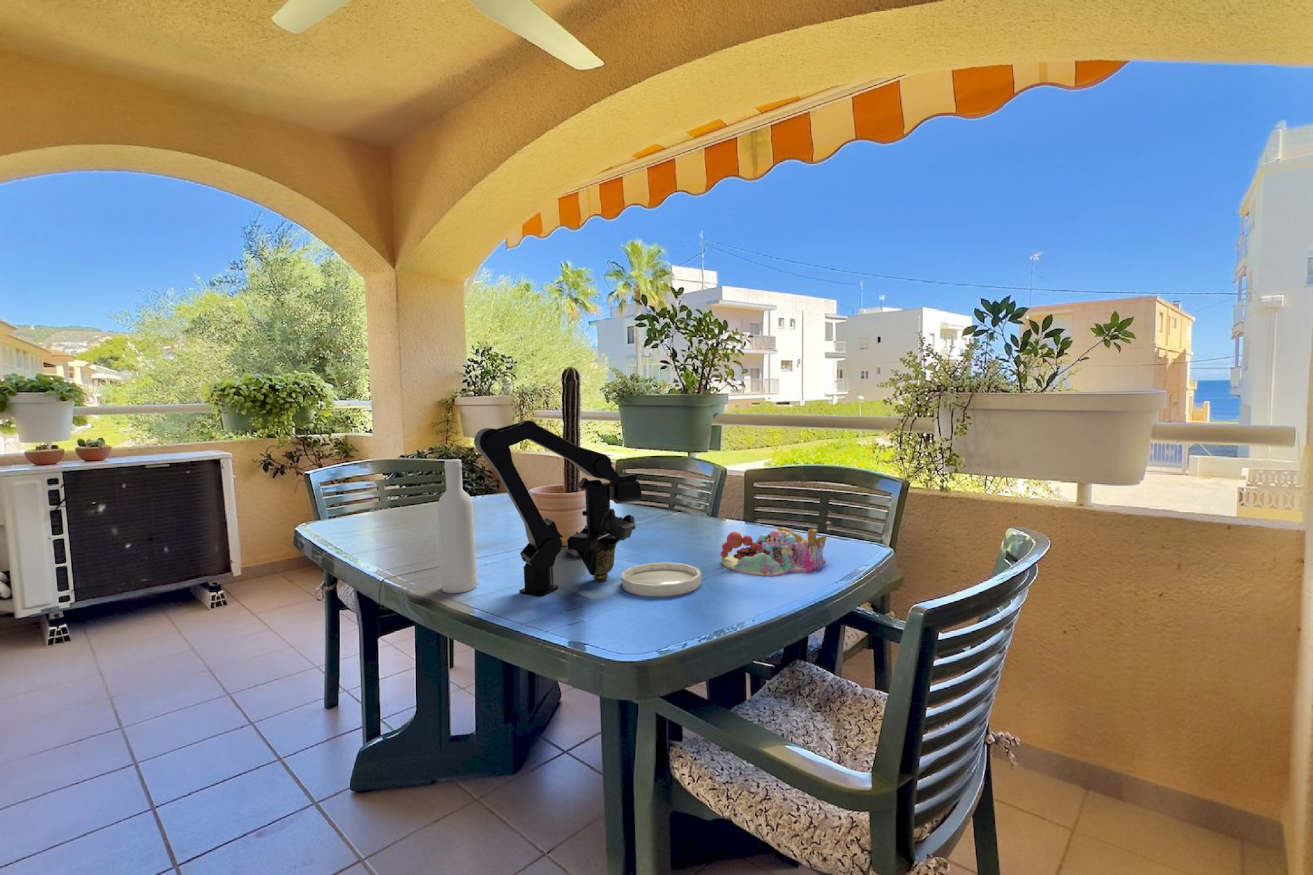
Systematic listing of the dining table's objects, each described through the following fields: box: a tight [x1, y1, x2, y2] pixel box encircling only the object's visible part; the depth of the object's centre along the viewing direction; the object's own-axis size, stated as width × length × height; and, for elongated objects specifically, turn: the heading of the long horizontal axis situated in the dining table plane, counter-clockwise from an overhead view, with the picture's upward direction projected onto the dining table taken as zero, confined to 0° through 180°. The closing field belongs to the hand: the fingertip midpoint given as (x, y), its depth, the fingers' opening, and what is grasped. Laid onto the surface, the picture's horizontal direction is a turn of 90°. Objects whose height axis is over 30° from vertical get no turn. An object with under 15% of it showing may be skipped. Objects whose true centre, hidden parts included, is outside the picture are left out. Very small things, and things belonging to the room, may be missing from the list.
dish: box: [621, 561, 703, 598], centre depth 138 cm, size 18×18×2 cm
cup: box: [592, 543, 616, 582], centre depth 143 cm, size 8×7×8 cm
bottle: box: [436, 458, 478, 594], centre depth 139 cm, size 8×8×30 cm
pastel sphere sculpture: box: [720, 526, 827, 577], centre depth 153 cm, size 25×24×9 cm
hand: (600, 570), depth 143 cm, fingers closed on cup, 7 cm apart
